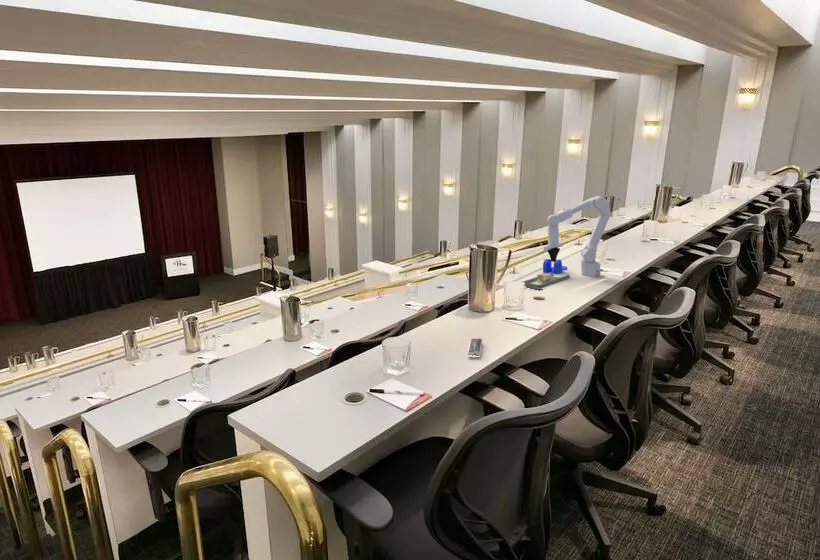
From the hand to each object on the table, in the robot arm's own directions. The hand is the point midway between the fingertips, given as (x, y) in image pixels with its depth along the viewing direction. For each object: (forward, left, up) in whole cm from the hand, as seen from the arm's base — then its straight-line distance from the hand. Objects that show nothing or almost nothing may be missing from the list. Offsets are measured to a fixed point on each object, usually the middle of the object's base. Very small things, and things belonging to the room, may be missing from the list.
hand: (553, 261), depth 288 cm
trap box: (-4, +13, -9) cm, 16 cm away
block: (-4, +14, -8) cm, 17 cm away
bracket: (+6, -12, -10) cm, 16 cm away
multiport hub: (-40, +105, -10) cm, 113 cm away
